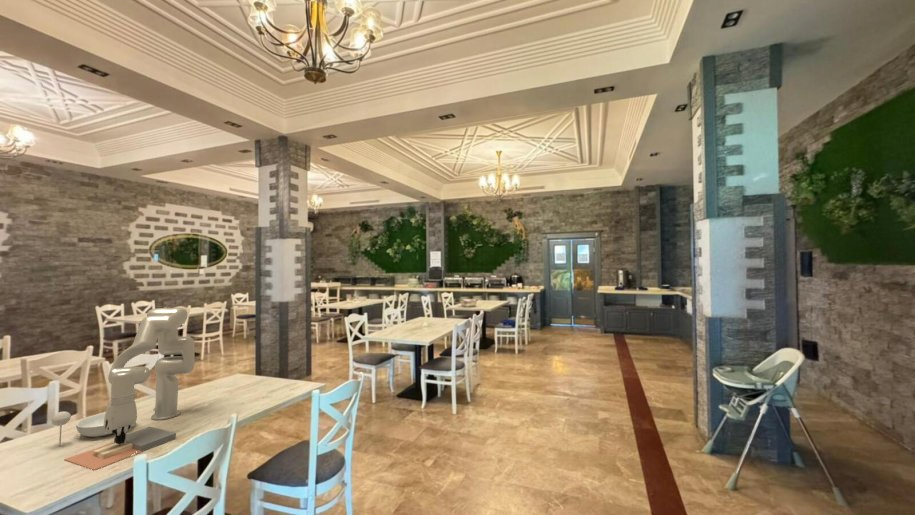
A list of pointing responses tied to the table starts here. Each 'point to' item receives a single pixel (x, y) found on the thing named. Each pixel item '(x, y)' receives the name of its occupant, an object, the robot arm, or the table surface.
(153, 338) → the robot arm
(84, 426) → the serving bowl
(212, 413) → the table surface
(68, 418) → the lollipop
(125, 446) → the slatted wooden pallet
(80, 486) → the table surface
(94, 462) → the rust mat
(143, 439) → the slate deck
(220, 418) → the table surface
